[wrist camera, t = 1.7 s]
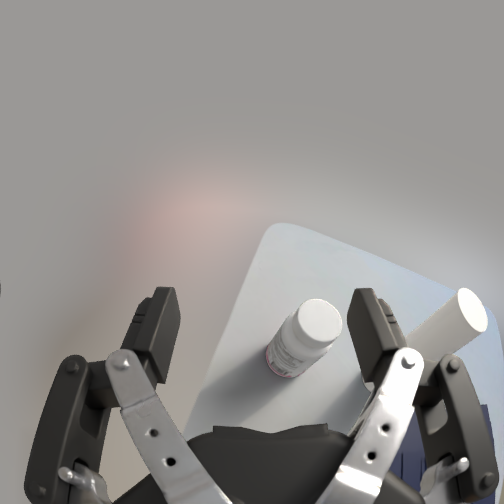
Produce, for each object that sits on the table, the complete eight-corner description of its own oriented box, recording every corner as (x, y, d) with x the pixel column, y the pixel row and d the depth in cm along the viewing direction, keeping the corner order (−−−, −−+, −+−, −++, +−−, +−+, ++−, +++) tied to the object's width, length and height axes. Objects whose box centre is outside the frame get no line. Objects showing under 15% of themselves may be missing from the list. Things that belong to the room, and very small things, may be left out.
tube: (362, 393, 25) (465, 328, 15) (361, 359, 28) (452, 283, 18) (391, 394, 26) (492, 334, 15) (389, 362, 29) (479, 293, 18)
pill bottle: (301, 334, 29) (335, 292, 23) (313, 373, 26) (355, 340, 20) (260, 339, 28) (286, 296, 22) (270, 382, 25) (303, 351, 19)
